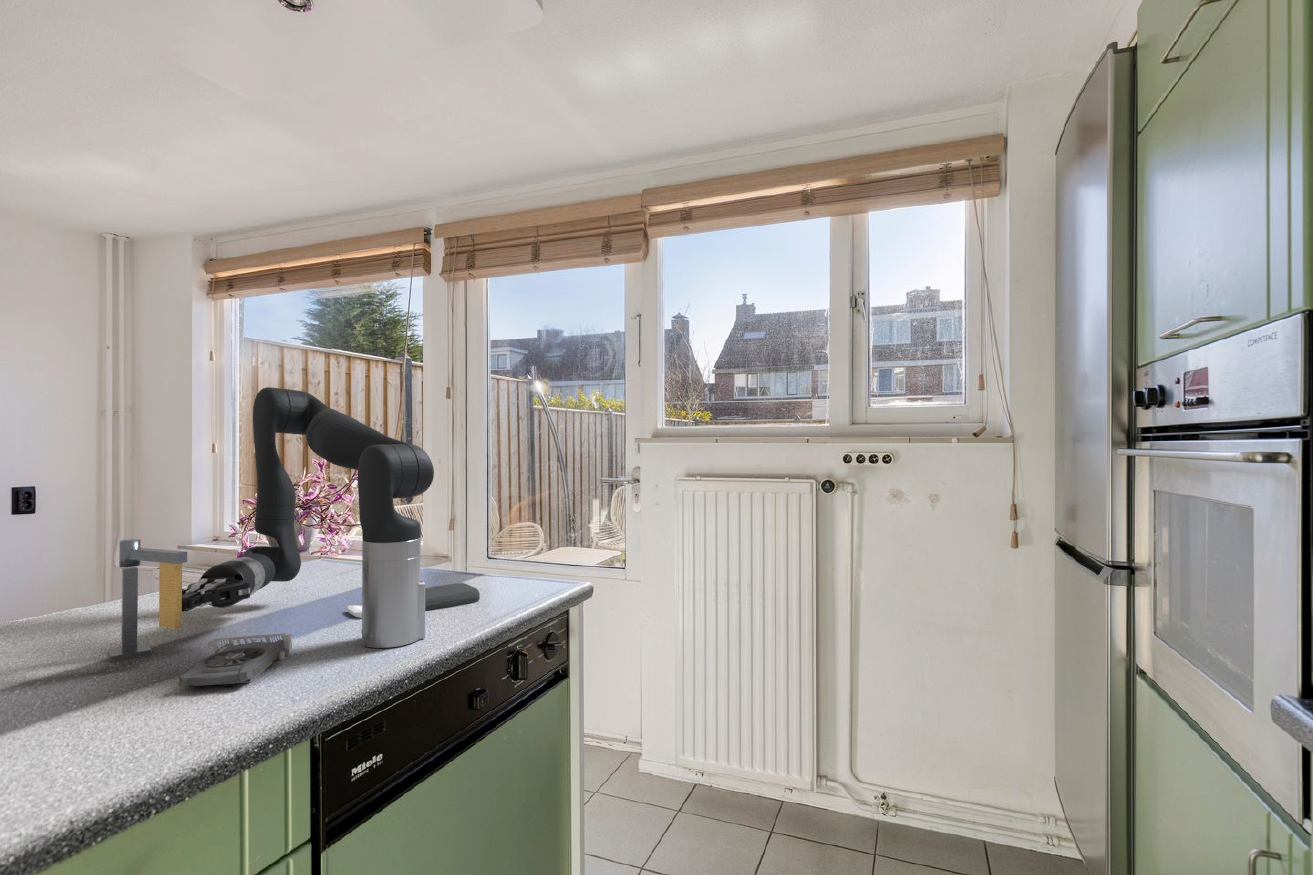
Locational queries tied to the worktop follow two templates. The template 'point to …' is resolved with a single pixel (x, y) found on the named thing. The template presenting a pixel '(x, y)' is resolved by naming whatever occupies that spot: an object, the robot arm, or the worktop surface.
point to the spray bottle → (439, 597)
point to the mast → (129, 620)
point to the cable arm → (160, 577)
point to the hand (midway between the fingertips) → (181, 605)
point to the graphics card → (238, 660)
